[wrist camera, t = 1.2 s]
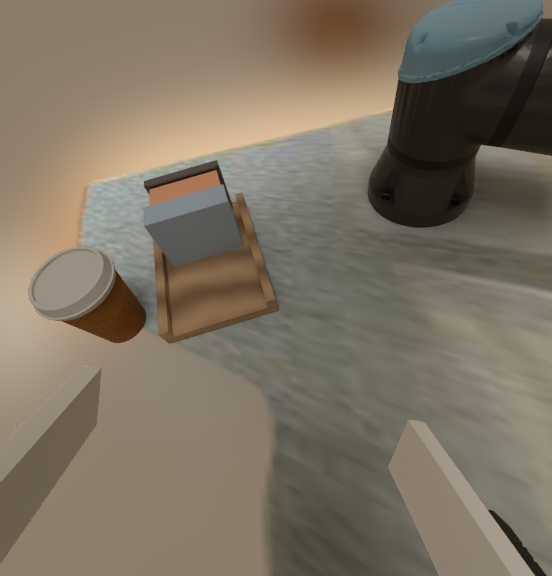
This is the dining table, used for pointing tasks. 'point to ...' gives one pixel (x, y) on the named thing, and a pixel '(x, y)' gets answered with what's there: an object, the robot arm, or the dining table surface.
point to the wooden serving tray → (213, 286)
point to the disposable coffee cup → (86, 294)
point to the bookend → (186, 176)
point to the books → (192, 219)
